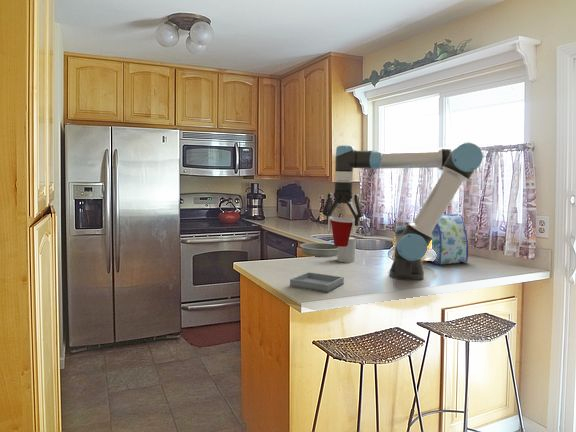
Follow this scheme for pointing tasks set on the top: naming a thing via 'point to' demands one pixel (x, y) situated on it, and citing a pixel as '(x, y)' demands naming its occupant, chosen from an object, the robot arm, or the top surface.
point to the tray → (317, 282)
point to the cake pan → (319, 249)
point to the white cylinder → (347, 251)
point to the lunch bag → (450, 240)
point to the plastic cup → (341, 230)
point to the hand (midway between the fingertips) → (341, 232)
